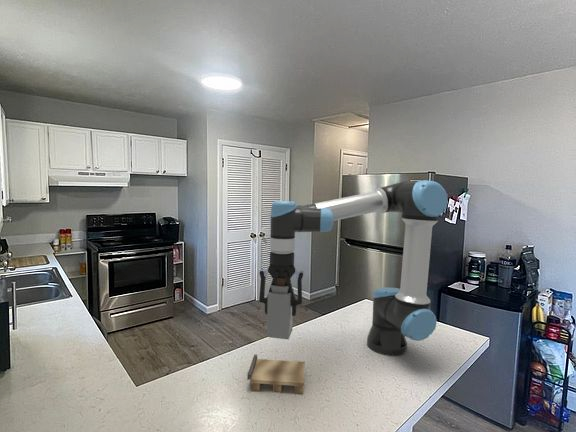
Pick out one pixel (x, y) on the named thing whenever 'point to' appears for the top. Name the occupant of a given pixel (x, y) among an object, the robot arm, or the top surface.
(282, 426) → the top surface
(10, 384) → the top surface
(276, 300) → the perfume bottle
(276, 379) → the platform
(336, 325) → the top surface
